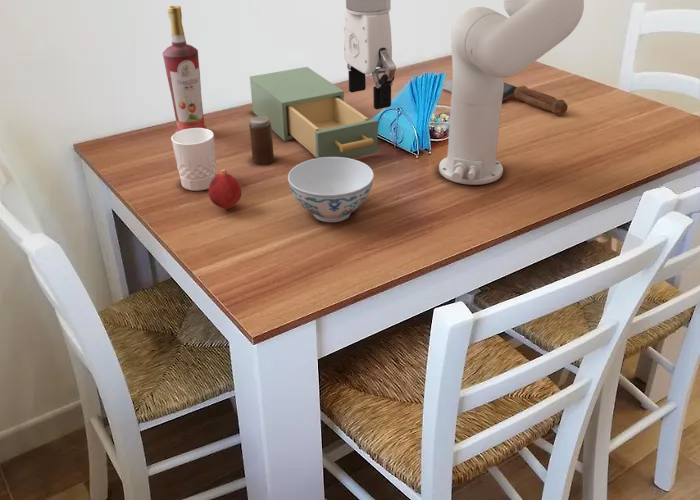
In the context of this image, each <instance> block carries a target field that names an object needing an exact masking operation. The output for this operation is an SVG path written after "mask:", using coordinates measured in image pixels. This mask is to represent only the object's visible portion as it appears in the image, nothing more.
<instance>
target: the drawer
mask: <svg viewBox="0 0 700 500" xmlns="http://www.w3.org/2000/svg"><path fill="white" fill-rule="evenodd" d="M286 115H287V131H288V133H289V134H290V135H292V136H293V137H294V138H295V139H294V140H296V141H297V142H298V143H299V144H300V145H302V147H304V148H305V149H306V150H307V151H308V152H309V153H311V155H313V156H314V157H315V159H316V158H323V157H343V158H350V159H353V158H357V157H361V156H364V155H368V154H374V153H377V152H378V147H379V146H378V144H379V141H378V139H379V131H378V130H379V121H378V119H376V118H373V119H369V118H368V117H367V116H366V115H365V114H363V113H361V112H360V111H358V110H357V109H356V108H354V107H352V106H351V105H349V104H348V103H347V102H345V100H344V101H342V100H341V99H339V98H338V97H337V96H336V97H330V98H325V99H320V100H315V101H309V102H304V103H299V104H294V105H288V106H286Z"/></svg>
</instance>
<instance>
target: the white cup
mask: <svg viewBox="0 0 700 500" xmlns="http://www.w3.org/2000/svg"><path fill="white" fill-rule="evenodd" d="M170 138H171V145H172V149H173V154H174V158H175V163H176V167H177V171H178V173H179V178H180V183H181V186H182V187H183V188H184V189H185V190H188V191H193V192H196V191H197V192H199V191H204V190H209V185H210V183H211V181H212V180H213V178H214V177H215V176H216V175H217V165H216V164H217V159H216V148H215V147H216V146H215V134H214V132H213V131H212V130H211V129H208V128H207V129H204V128H190V129H184V130H181V131H178V132H176V131H175V133H173V134H172V135H171V137H170Z"/></svg>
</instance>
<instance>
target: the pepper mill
mask: <svg viewBox="0 0 700 500" xmlns="http://www.w3.org/2000/svg"><path fill="white" fill-rule="evenodd" d="M249 121H250V122H249V124H248V125H249V136H250V147H251V156H252V157H251V158H252V162H253V164H255V165H260V166H263V165H269V164H271V163H273V162H274V160H275V157H274V156H275V155H274V143H273V130H272V129H271V123H270V122H269V118H268V117H265V116H257V115H256V116H253V117H251V118H250V120H249Z"/></svg>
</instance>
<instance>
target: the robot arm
mask: <svg viewBox="0 0 700 500" xmlns="http://www.w3.org/2000/svg"><path fill="white" fill-rule="evenodd" d="M391 6H392V4H391V0H345V13H344V14H345V15H344V27H343V59H344V61H345V62H346V63H347V64H346V67H347V70H348V73H347V74H348V91H349V92H350V93H357V92H363V91H365V90H366V86H367V84H366V79H367V78H366V76H369V75H371V76H372V78H373V82H374V85H375V86H373V88H372V90H373V91H372V92H373V95H372V96H373V109H374V110H383V109H386V108H387V109H388V108H390V107H391V106H392V86H393V84H394V82H393V81H394V80H395V74H396V70H397V66H396V64H395V62H394V61H393V48H392V47H393V41H392V26H391V18H390V12H391V8H392V7H391ZM503 7H504V10H505V12H506V14H507V15H508V17H507V16H505V15H504V14H502V13H500V12H498V11H496V10H494V9H492V8H489V7H484V6H475V7H470V8H468V9H466V10H464V11H463V12H462V13H460V14H459V16H458V17H457V19H456V20H455V21H454V23H453V26H452V30H451V34H450V52H451V53H450V54H451V67H452V77H451V78H452V92H451V97H450V109H449V110H450V112H449V125H448V127H449V128H448V142H447V143H448V144H447V156H446V157H444V158H443V159H441V161H439V164H438V172H439V173H440V175H441V176H442V177H444V178H445V179H447V180H448V181H451V182H453V183H457V184H462V185H469V186H472V185H473V186H478V185H486V184H491V183H493V182H497V181H498V180H499V179H500V178H501V177H502V176H503V174H504V166H503V164H502V163H501V162H500V161H498V160H497V152H498V144H499V134H500V124H501V115H502V105H503V100H502V98H503V89H504V82H505V78H509V77H513V76H515V75H517V74H519V73H520V72H523V70H525V69H527V68H528V67H529V66H531V65H532V64H534V63H535V62H536V61H537V60H539V59H540V58H541V57H544V56H545V55H546V54H547V53H548V52H550V51H551V50H552V49H553V48H555V47H557V45H559V44H560V43H562V42H563V41H564V40H566V38H568V37H569V36H570V35H571V34H572V33H573V32H574V31H575V29H576V27H578V25H579V23H580V22H581V19H582V17H583V14H584V9H585V0H503ZM381 74H382V76H381V77H380V76H379V75H381Z"/></svg>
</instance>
